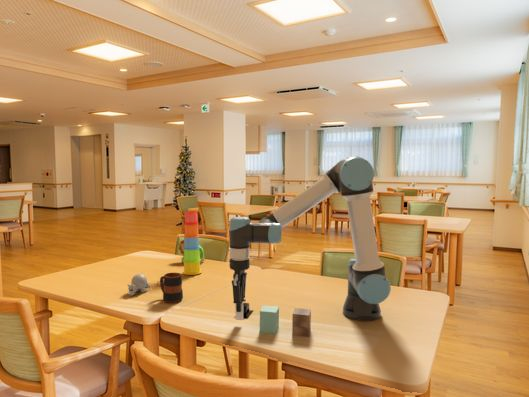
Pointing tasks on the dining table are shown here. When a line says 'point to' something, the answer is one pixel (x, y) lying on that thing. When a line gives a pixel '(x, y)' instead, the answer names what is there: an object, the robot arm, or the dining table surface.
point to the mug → (172, 287)
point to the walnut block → (301, 322)
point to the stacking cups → (191, 244)
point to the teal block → (269, 319)
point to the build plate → (246, 311)
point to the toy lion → (181, 246)
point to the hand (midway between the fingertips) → (239, 319)
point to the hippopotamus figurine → (138, 284)
